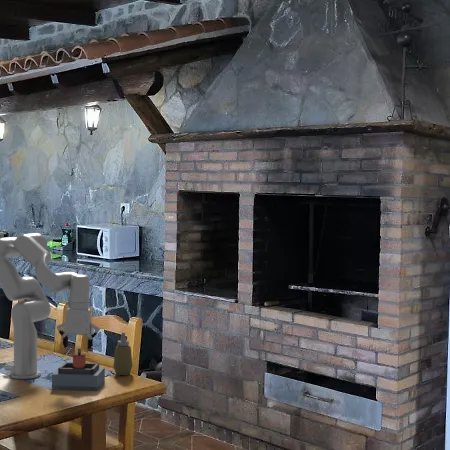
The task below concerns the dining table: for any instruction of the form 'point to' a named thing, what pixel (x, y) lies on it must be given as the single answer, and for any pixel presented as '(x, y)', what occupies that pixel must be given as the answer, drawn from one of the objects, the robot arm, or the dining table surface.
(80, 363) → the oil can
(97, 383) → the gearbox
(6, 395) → the dining table surface
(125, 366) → the squeeze bottle
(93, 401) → the dining table surface
